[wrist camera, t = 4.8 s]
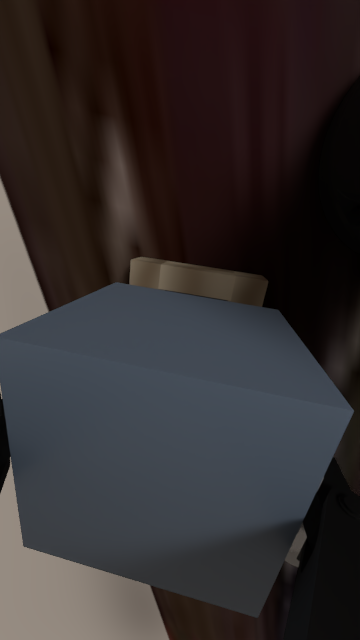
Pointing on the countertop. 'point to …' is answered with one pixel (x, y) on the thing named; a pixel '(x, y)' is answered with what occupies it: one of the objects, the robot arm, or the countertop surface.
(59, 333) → the slate blue cube
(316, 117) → the countertop surface
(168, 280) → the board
